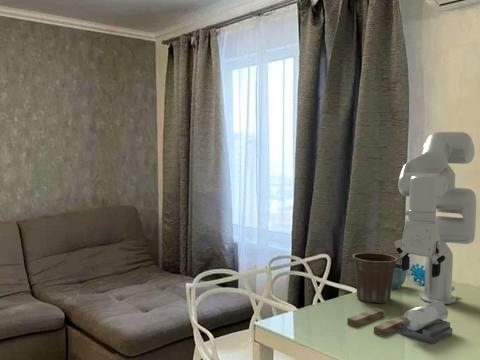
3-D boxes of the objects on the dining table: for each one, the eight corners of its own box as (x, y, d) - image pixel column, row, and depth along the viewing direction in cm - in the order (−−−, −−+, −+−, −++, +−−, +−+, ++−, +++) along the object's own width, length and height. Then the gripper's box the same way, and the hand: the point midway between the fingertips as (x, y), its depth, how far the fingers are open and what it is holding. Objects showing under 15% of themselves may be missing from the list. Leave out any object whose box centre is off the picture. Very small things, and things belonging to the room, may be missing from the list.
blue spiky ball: (416, 282, 206) (408, 261, 213) (408, 289, 210) (401, 269, 217) (438, 284, 209) (430, 264, 216) (430, 291, 213) (422, 271, 220)
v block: (419, 324, 162) (419, 313, 162) (452, 334, 154) (452, 323, 154) (398, 333, 155) (399, 322, 154) (432, 344, 146) (432, 332, 146)
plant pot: (366, 290, 201) (367, 250, 200) (403, 299, 189) (405, 257, 188) (343, 298, 190) (344, 256, 188) (381, 308, 178) (383, 263, 177)
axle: (429, 317, 162) (431, 299, 161) (447, 323, 157) (449, 304, 157) (402, 326, 151) (404, 307, 151) (420, 333, 147) (422, 313, 146)
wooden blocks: (375, 313, 172) (376, 307, 172) (410, 324, 163) (410, 318, 162) (347, 324, 162) (347, 318, 162) (382, 335, 152) (382, 329, 152)
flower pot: (401, 291, 199) (402, 269, 199) (379, 287, 204) (380, 266, 204) (407, 286, 207) (407, 264, 206) (385, 282, 212) (386, 261, 211)
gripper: (389, 214, 153) (387, 269, 154) (443, 221, 140) (441, 281, 141) (402, 212, 158) (401, 265, 159) (456, 219, 145) (454, 277, 146)
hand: (420, 273), depth 150 cm, fingers open, 9 cm apart
